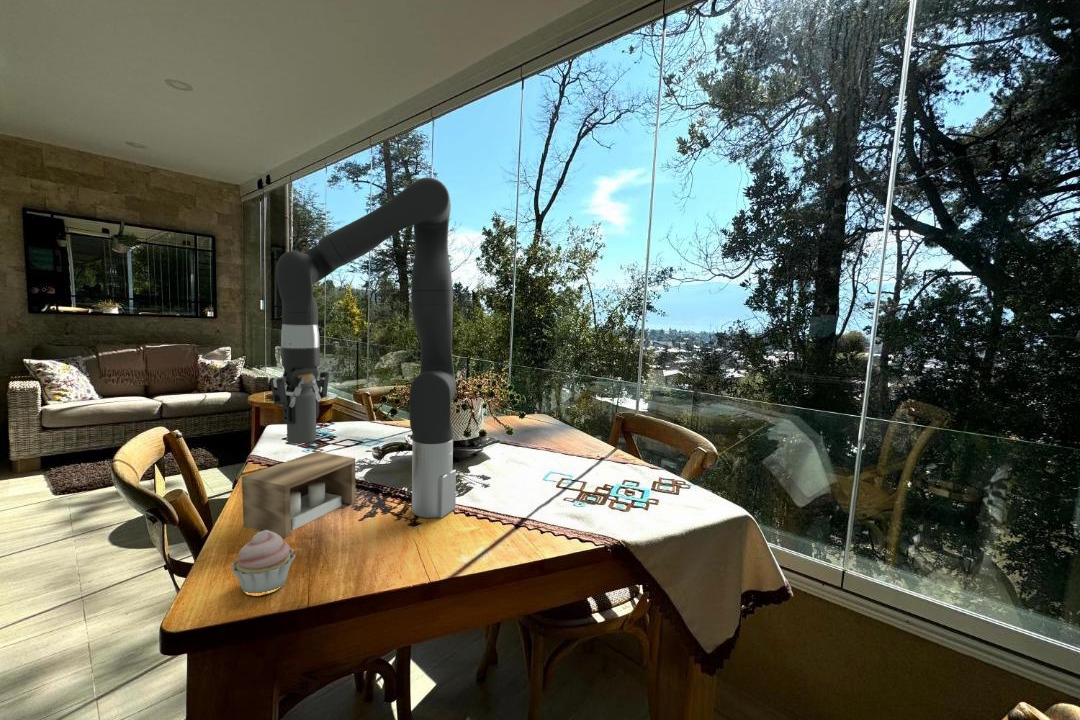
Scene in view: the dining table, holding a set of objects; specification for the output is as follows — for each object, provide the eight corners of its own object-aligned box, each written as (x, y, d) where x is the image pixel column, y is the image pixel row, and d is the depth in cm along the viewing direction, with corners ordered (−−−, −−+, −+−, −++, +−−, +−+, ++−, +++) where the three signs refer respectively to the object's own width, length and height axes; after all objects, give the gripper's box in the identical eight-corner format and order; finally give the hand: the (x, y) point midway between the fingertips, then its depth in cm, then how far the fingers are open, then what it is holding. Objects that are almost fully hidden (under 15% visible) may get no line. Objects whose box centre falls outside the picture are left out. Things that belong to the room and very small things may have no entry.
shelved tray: (341, 505, 115) (341, 482, 114) (292, 530, 102) (292, 503, 101) (315, 500, 118) (315, 477, 117) (264, 523, 104) (263, 497, 104)
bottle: (308, 444, 105) (307, 376, 103) (281, 443, 105) (280, 375, 104) (321, 437, 111) (320, 372, 109) (295, 436, 111) (294, 371, 109)
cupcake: (269, 607, 76) (268, 546, 75) (218, 599, 78) (215, 539, 77) (308, 575, 85) (307, 521, 84) (261, 568, 87) (259, 515, 86)
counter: (355, 502, 117) (355, 458, 116) (286, 537, 98) (284, 485, 97) (317, 494, 121) (316, 451, 120) (243, 526, 103) (241, 476, 101)
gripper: (285, 348, 98) (287, 430, 100) (338, 344, 111) (339, 416, 113) (258, 346, 100) (260, 425, 102) (313, 342, 114) (314, 412, 116)
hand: (302, 420), depth 108 cm, fingers closed on bottle, 6 cm apart
